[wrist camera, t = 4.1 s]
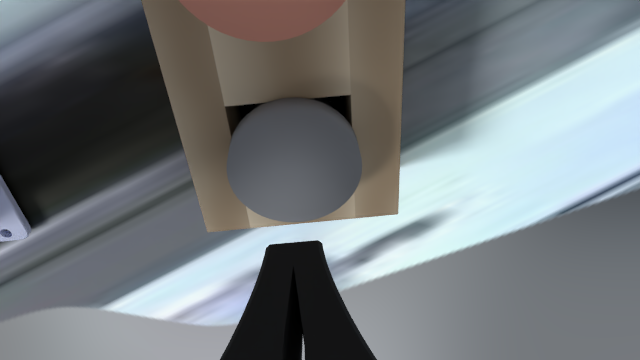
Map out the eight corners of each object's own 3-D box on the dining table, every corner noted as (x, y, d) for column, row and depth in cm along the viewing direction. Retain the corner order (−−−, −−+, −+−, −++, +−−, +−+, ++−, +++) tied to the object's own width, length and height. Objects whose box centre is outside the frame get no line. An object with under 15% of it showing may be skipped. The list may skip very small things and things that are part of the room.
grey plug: (245, 172, 21) (239, 227, 18) (224, 71, 19) (214, 118, 16) (352, 162, 21) (363, 216, 18) (348, 60, 19) (360, 104, 16)
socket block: (215, 188, 22) (207, 232, 20) (108, -233, 13) (71, -246, 11) (385, 172, 22) (398, 214, 20) (391, -257, 14) (415, -276, 11)
